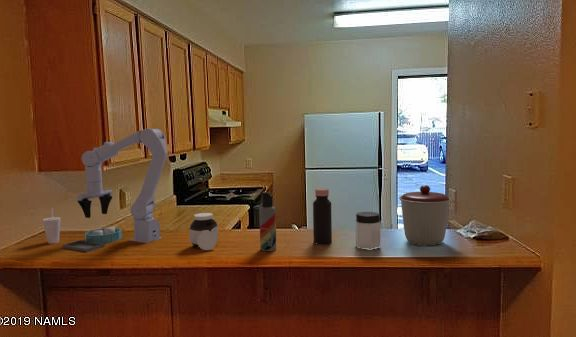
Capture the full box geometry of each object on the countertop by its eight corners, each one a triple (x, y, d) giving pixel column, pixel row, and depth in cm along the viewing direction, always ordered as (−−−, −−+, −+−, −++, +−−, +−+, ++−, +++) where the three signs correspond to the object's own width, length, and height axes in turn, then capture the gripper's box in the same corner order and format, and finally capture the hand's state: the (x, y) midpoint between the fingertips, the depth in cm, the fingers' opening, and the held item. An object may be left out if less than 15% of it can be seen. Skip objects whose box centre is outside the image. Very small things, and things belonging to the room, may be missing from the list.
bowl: (128, 237, 171) (128, 229, 171) (101, 246, 160) (100, 236, 160) (106, 234, 177) (106, 226, 177) (78, 242, 166) (77, 233, 166)
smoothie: (54, 245, 162) (51, 209, 161) (40, 245, 163) (37, 209, 162) (66, 241, 168) (63, 206, 167) (52, 240, 170) (49, 206, 168)
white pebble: (105, 239, 167) (105, 230, 167) (97, 241, 164) (96, 232, 163) (98, 238, 169) (98, 229, 169) (90, 240, 165) (89, 231, 165)
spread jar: (207, 241, 164) (206, 211, 163) (228, 245, 158) (227, 214, 156) (183, 248, 154) (181, 217, 153) (204, 253, 148) (203, 220, 147)
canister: (388, 240, 159) (388, 184, 157) (423, 233, 168) (423, 180, 166) (426, 252, 143) (426, 190, 141) (462, 244, 152) (463, 185, 150)
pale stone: (117, 235, 172) (116, 227, 172) (109, 238, 169) (108, 229, 168) (110, 234, 174) (110, 226, 174) (102, 237, 170) (101, 228, 170)
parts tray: (104, 247, 158) (104, 243, 157) (87, 253, 151) (86, 248, 151) (80, 243, 164) (80, 240, 164) (63, 248, 157) (62, 244, 157)
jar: (382, 250, 147) (382, 216, 146) (359, 251, 146) (358, 216, 145) (376, 243, 156) (376, 211, 154) (354, 244, 155) (353, 211, 154)
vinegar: (322, 246, 153) (322, 191, 151) (309, 242, 158) (308, 189, 156) (335, 242, 158) (335, 189, 156) (322, 239, 163) (321, 187, 161)
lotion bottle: (264, 252, 147) (262, 195, 145) (257, 248, 152) (256, 193, 150) (279, 250, 149) (277, 194, 147) (272, 246, 154) (270, 192, 152)
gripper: (102, 179, 175) (104, 211, 176) (70, 183, 162) (73, 218, 163) (114, 179, 171) (116, 212, 173) (82, 184, 159) (85, 220, 160)
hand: (96, 215), depth 168 cm, fingers open, 7 cm apart
